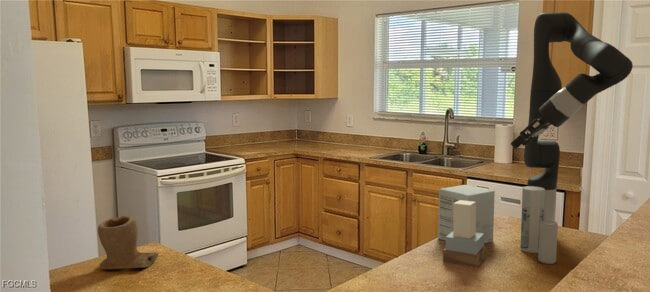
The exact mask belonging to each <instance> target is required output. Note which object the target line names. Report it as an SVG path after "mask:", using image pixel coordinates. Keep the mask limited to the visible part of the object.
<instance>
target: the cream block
mask: <svg viewBox="0 0 650 292" xmlns="http://www.w3.org/2000/svg"><path fill="white" fill-rule="evenodd" d="M474 235H476V202H473V201H464V200H459V201H457V202H455V203H453V236H456V237H462V238H468V239H470V238H471V237H473V236H474Z"/></svg>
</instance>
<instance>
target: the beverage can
mask: <svg viewBox="0 0 650 292" xmlns="http://www.w3.org/2000/svg"><path fill="white" fill-rule="evenodd" d="M558 229H559V226H558V222H557V221H555V222H554V221H548V220H544V221H541V223H540V234H539V253H538V254H537V255H538V256H537V257H538V261H539V262H540V263H541V264H544V265H552V264H555V263H556V261H557V253H558V252H557V251H558V249H557V247H558Z"/></svg>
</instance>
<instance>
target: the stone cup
mask: <svg viewBox="0 0 650 292" xmlns="http://www.w3.org/2000/svg"><path fill="white" fill-rule="evenodd" d="M97 235H98V239H99V240H100V241H99V242H100V244H101V246H102V247H103V249H104V251H105V254H106V258H104V259H103V260H102V261H101V262H100V263H99V268H100V269H102V270H128V269H129V270H130V269H140V268H148V267H150V266H152V265H153V264H154V263H155V262H156V261H157V260H158V258H159V253H158V252H140V251H138V248H137V246H138V245H137V243H138V236H139V235H138V224H137V221H136V220H135V219H134V218H133V217H132V216H130V215H121V216H120V217H110V218H108V219H106V220H104V221H102V222H101V223H100V224H99V225H98V227H97Z"/></svg>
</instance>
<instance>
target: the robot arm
mask: <svg viewBox="0 0 650 292" xmlns="http://www.w3.org/2000/svg"><path fill="white" fill-rule="evenodd" d="M563 42H567V43H570V50H571V52H572V54H573V55H574V56H575V57H576V58H577V59H579V60H581V61H582V62H583V63H585V64H587V65H589V66H590V67H591V68H592V69H594V70H595V71H597V72H598V73H597V74H594V75H588V74H586V73H579V74H578V75H576V76H575V77H574V78H573V79H571V80H570V82H568V83H567V84H566V85H565V86H564V87H563V88H562V86H563V85H562V84H563V83H562V81H561V78H560V75H559V74H558V72H557V70H556V69H555V67H554V65H553V62H552V61H551V57H550V43H563ZM633 66H634V65H633V62H632V60H631V59H630V58H629V57H627V56H626V55H625V54H624V53H623V52H622V51H620V50H619V49H618V48H616V46H614V45H612V44H610V43H608V42H604V41H603V40H601V39H600V38H598V37H596V36H594V35H593V34H591V33H590V32H589V31H587V29H586V28H585V27H584V26H583V25H582V24H581V23H580V22H579V21H578V20H577V18H576V17H575V16H573V15H572V14H571V13H569V12H563V11H562V12H543V13H539V14H537V16H536V18H535V21H534V27H533V67H532V76H531V78H532V79H531V86H530V95H529V111H528V112H529V113H528V123H527V126H526V127H525V128H523V129H522V131H520V132H519V135H518V136H517V137H516V138H515V139H514V140H512V141H511V142H510V145H511V147H513V148H514V149H518V148H519V147H520V146H524V150H523V162H524V164H525V165H524V166H526V167H527V168H533V169H536V168H537V169H539V168H540V169H544V171H542V172H541V173H539V174H536V175H534V176H530V177H529V178H528V179H527V185H526V186H534V187H541V188H544V189H545V198H544V216H543V221H544V220H548V221H554V222H556V209H557V188H558V179H559V178H558V176H559V166H560V157H561V150H560V146H559V143H558V142H557V141H554V140H539V137H540V136H541V135H542V134H543V133H544V132H545V131H548V129H549V127H550V126H553V127H554V128H559V127H561V126H562V125H563V124H564V123H566V122H567V121H568V120H570V119H571V117H573V116H574V115H575V114H576V113H577V112H578V111H580V110H581V108H583V106H584V105H585V104H587V103H588V102H589V101H590V100H591V99H593V98H594V97H595V96H596V95H598V94H599V93H602V92H604V91H605V90H607V89H609V88H612V87H614V86H615V85H618V84H619V83H621V82H622V81H624V80H625V79H626V78H627V77H628V76H629V75H630V74H631V73H632V70H633Z"/></svg>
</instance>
